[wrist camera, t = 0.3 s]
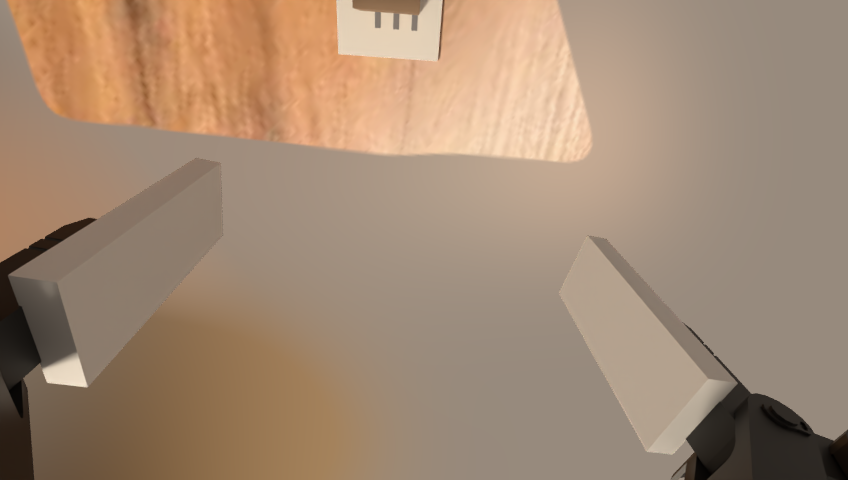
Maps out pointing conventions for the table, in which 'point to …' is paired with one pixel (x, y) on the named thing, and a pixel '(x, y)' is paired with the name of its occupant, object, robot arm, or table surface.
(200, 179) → the robot arm
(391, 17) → the letter
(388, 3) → the walnut block
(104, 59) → the table surface
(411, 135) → the table surface
